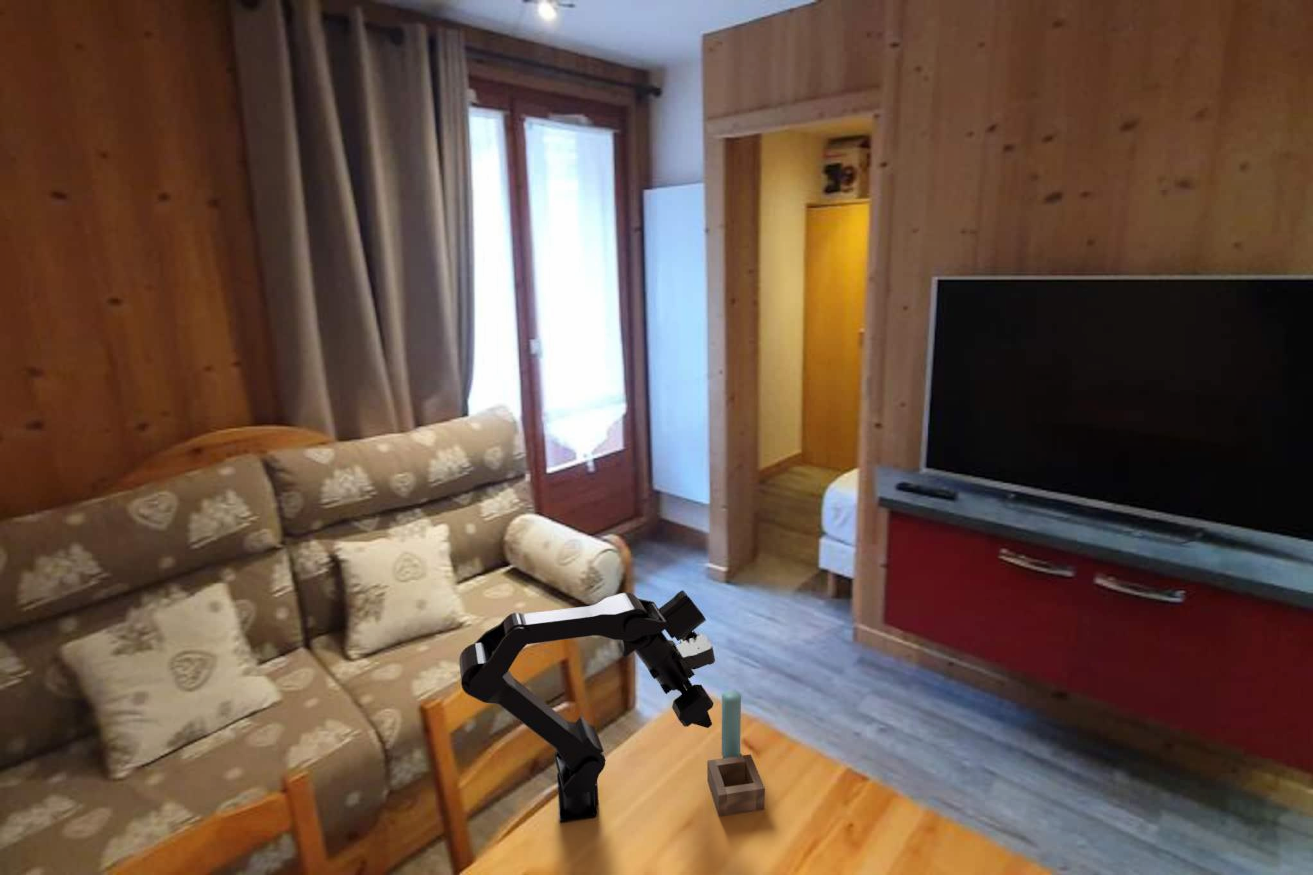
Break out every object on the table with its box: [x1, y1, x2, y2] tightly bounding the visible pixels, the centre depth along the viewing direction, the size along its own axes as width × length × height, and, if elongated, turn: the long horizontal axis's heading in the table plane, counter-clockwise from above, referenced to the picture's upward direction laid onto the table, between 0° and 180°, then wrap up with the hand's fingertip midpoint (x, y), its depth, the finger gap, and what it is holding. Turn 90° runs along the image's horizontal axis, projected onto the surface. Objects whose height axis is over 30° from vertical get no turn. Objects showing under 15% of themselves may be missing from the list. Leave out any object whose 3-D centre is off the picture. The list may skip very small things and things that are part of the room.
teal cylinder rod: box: [721, 689, 742, 758], centre depth 129 cm, size 4×4×13 cm
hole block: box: [706, 753, 766, 817], centre depth 120 cm, size 8×8×4 cm
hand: (700, 709), depth 123 cm, fingers open, 9 cm apart
